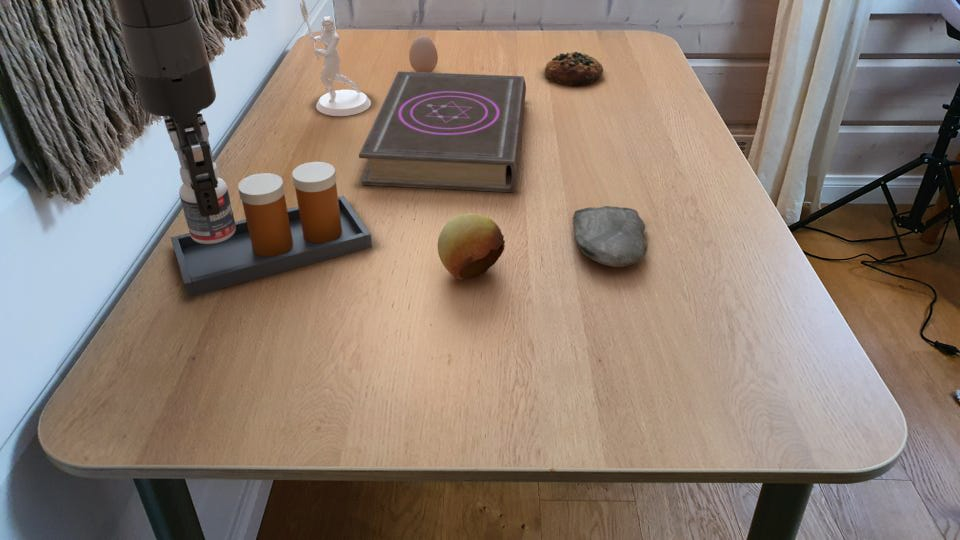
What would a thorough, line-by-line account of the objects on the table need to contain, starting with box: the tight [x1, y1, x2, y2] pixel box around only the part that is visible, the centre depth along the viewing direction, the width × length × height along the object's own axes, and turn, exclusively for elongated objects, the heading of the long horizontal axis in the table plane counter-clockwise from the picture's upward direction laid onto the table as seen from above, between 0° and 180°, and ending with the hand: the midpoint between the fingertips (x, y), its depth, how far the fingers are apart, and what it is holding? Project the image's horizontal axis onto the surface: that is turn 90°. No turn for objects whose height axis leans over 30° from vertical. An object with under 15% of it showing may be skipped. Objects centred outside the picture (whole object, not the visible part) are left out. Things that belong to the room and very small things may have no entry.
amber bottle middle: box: [237, 172, 293, 257], centre depth 90 cm, size 5×5×9 cm
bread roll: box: [544, 51, 604, 87], centre depth 138 cm, size 11×11×5 cm
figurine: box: [299, 0, 372, 117], centre depth 123 cm, size 10×10×18 cm
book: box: [358, 70, 527, 193], centre depth 116 cm, size 30×22×5 cm
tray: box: [170, 195, 373, 298], centre depth 93 cm, size 23×11×2 cm, turn 117°
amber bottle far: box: [291, 161, 342, 243], centre depth 93 cm, size 5×5×9 cm
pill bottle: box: [178, 162, 236, 244], centre depth 86 cm, size 5×5×9 cm
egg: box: [408, 34, 439, 73], centre depth 137 cm, size 5×5×7 cm
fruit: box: [437, 212, 506, 281], centre depth 87 cm, size 8×8×8 cm
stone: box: [572, 205, 648, 268], centre depth 93 cm, size 13×9×3 cm
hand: (205, 201), depth 86 cm, fingers closed on pill bottle, 5 cm apart
